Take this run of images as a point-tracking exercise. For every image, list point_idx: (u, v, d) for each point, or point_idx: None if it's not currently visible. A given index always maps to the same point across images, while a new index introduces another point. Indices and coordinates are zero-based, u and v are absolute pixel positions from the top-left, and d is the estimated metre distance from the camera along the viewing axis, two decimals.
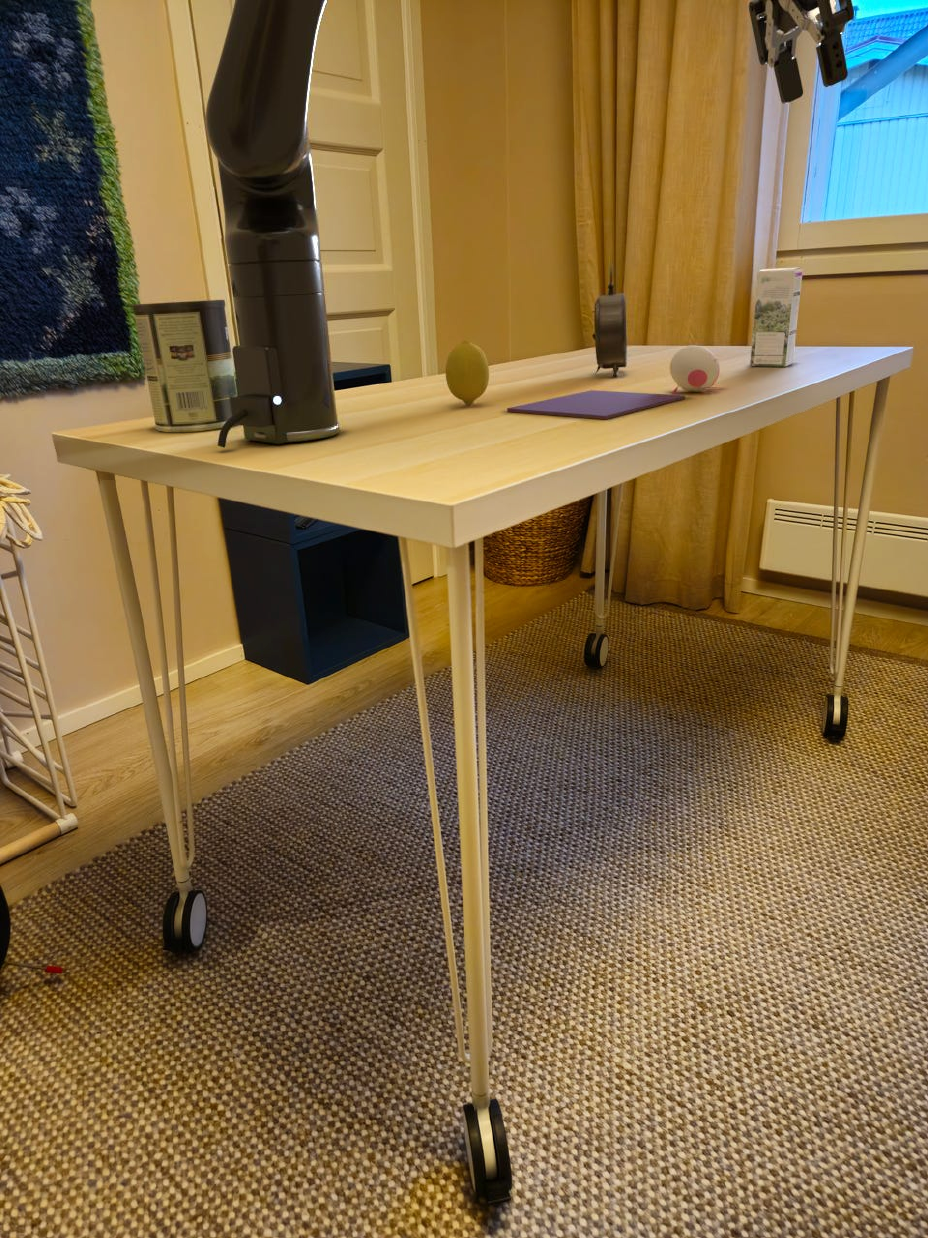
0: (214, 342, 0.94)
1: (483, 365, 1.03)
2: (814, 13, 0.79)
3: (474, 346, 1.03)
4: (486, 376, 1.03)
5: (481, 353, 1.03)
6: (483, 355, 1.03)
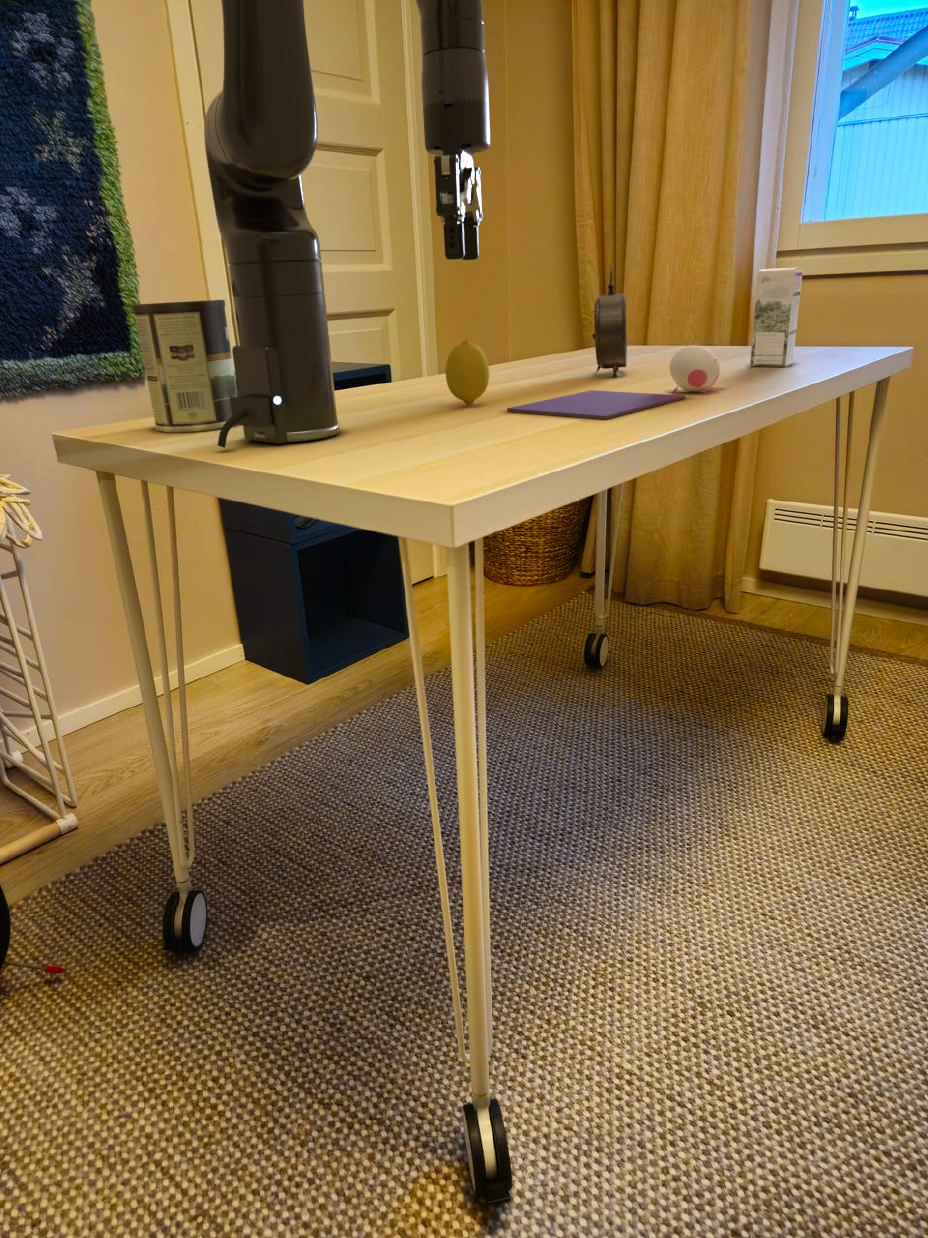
0: (214, 342, 0.94)
1: (483, 365, 1.03)
2: (447, 197, 0.94)
3: (474, 346, 1.03)
4: (486, 376, 1.03)
5: (481, 353, 1.03)
6: (483, 355, 1.03)
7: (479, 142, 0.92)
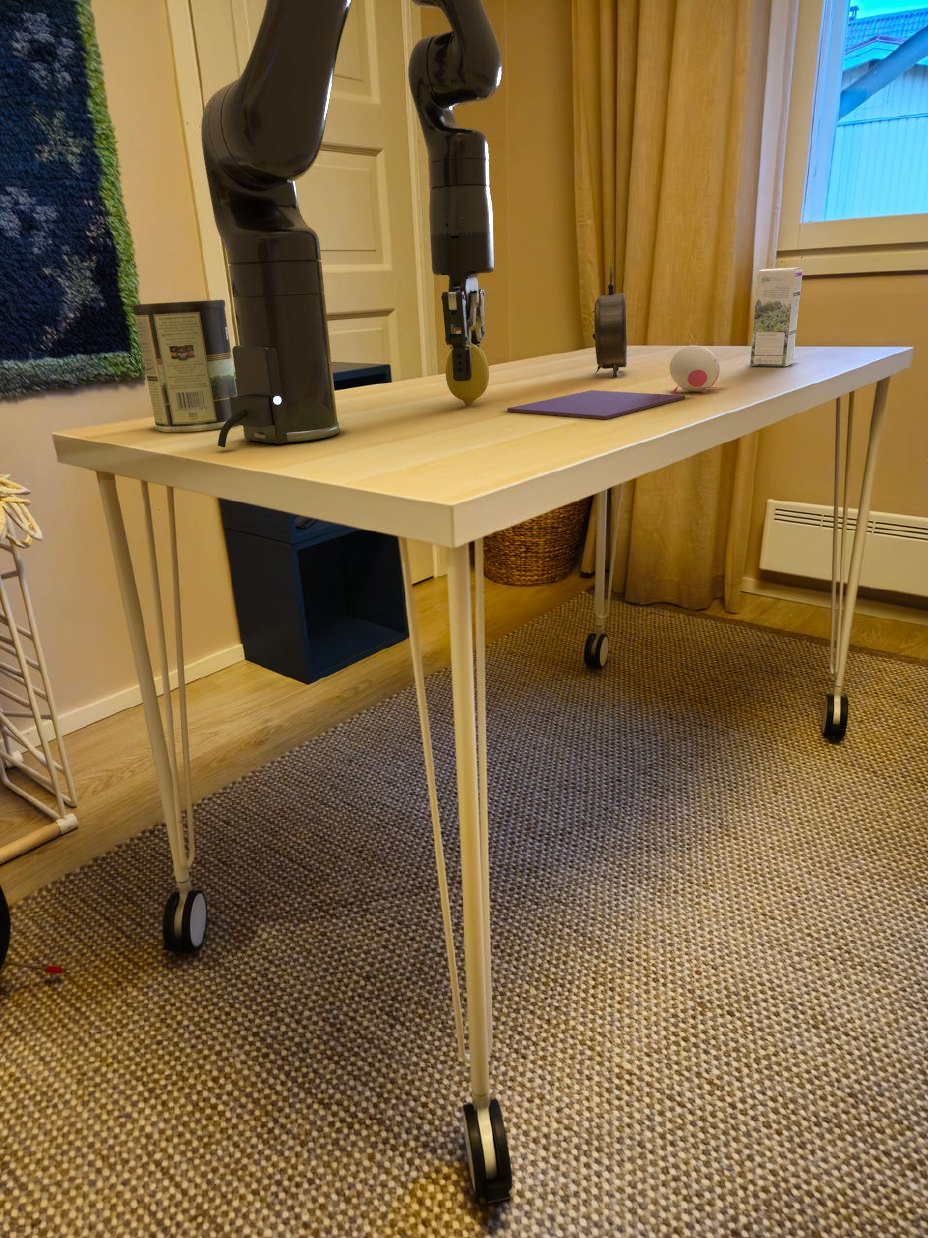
0: (214, 342, 0.94)
1: (483, 365, 1.03)
2: (454, 325, 0.99)
3: (474, 346, 1.03)
4: (486, 376, 1.03)
5: (481, 353, 1.03)
6: (483, 355, 1.03)
7: (483, 269, 0.97)
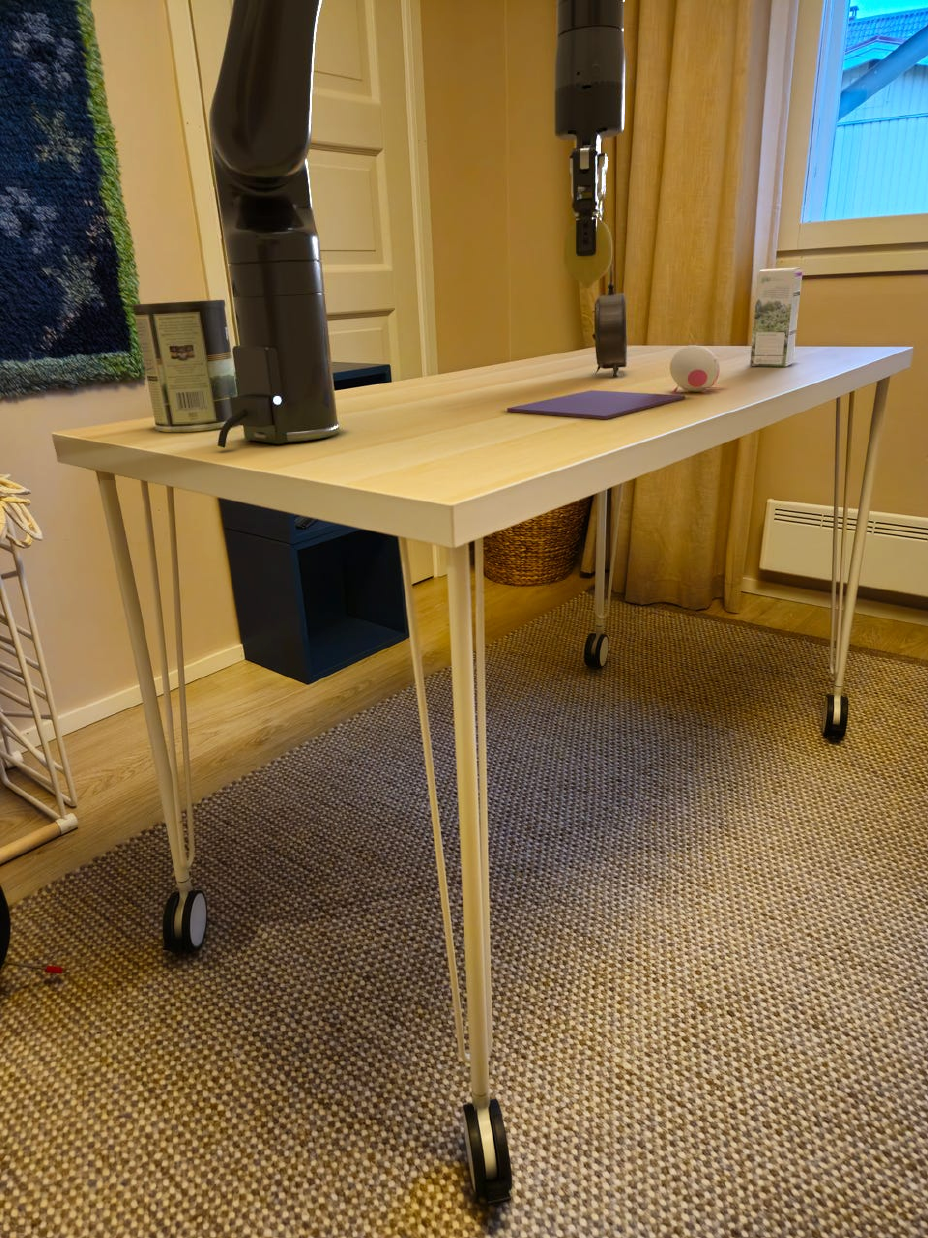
0: (214, 342, 0.94)
1: (608, 239, 0.93)
2: (580, 191, 0.90)
3: (598, 219, 0.93)
4: (610, 253, 0.94)
5: (606, 226, 0.93)
6: (607, 229, 0.94)
7: (615, 125, 0.88)
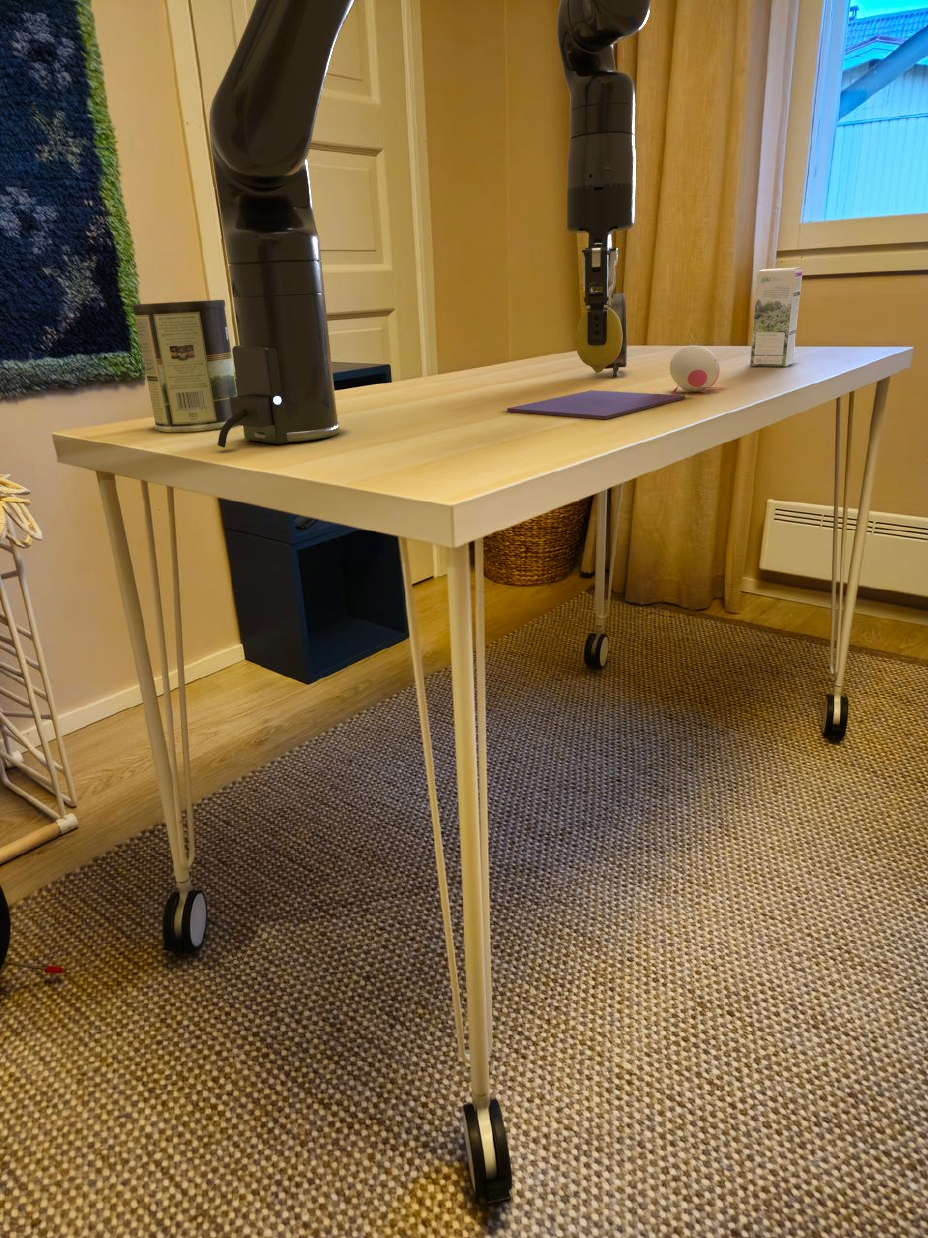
0: (214, 342, 0.94)
1: (618, 328, 0.96)
2: (592, 284, 0.93)
3: (609, 308, 0.96)
4: (620, 341, 0.97)
5: (616, 316, 0.96)
6: (618, 318, 0.97)
7: (626, 224, 0.91)
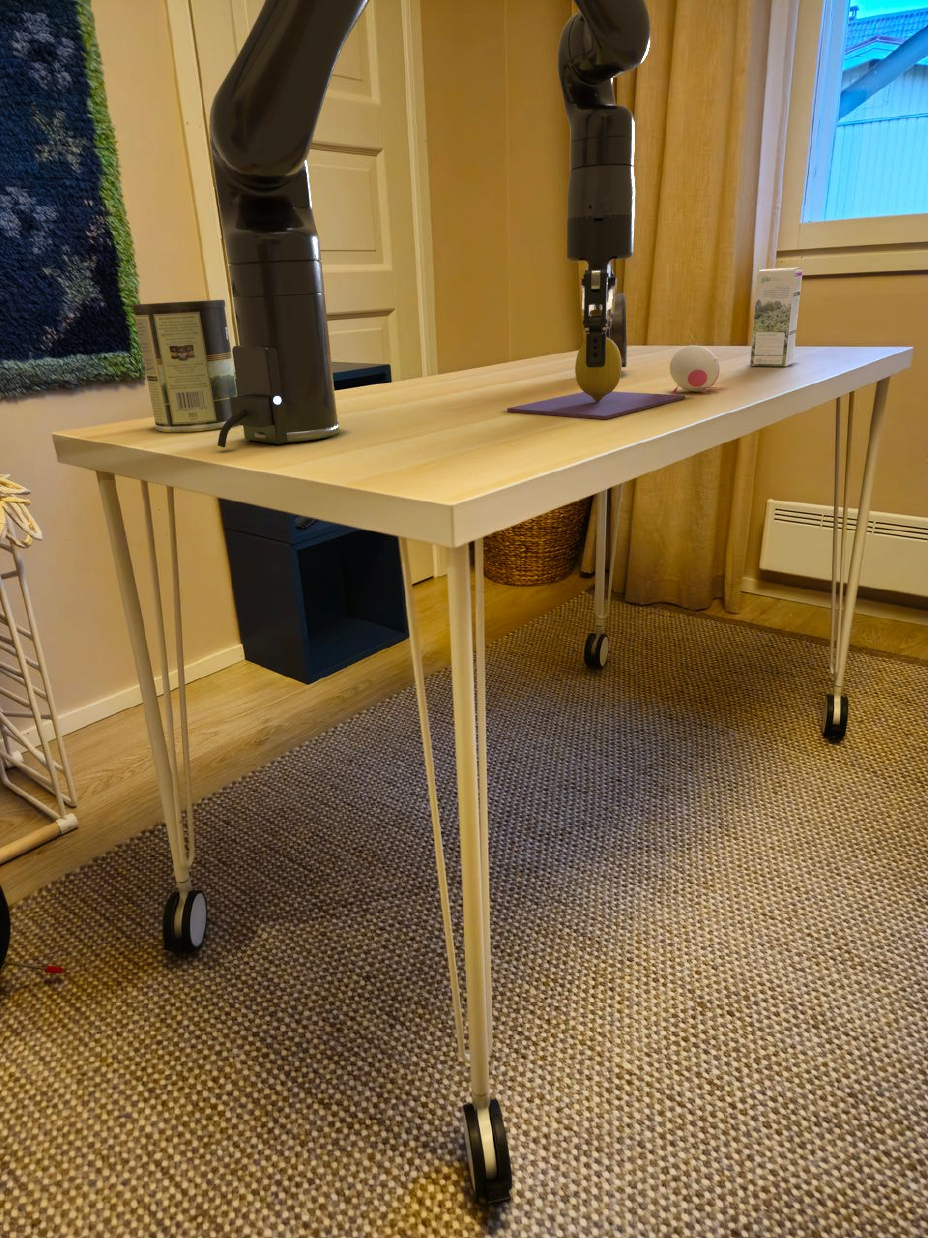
0: (214, 342, 0.94)
1: (617, 358, 0.98)
2: (591, 308, 0.94)
3: (608, 339, 0.98)
4: (619, 371, 0.98)
5: (615, 346, 0.98)
6: (617, 348, 0.98)
7: (625, 254, 0.92)
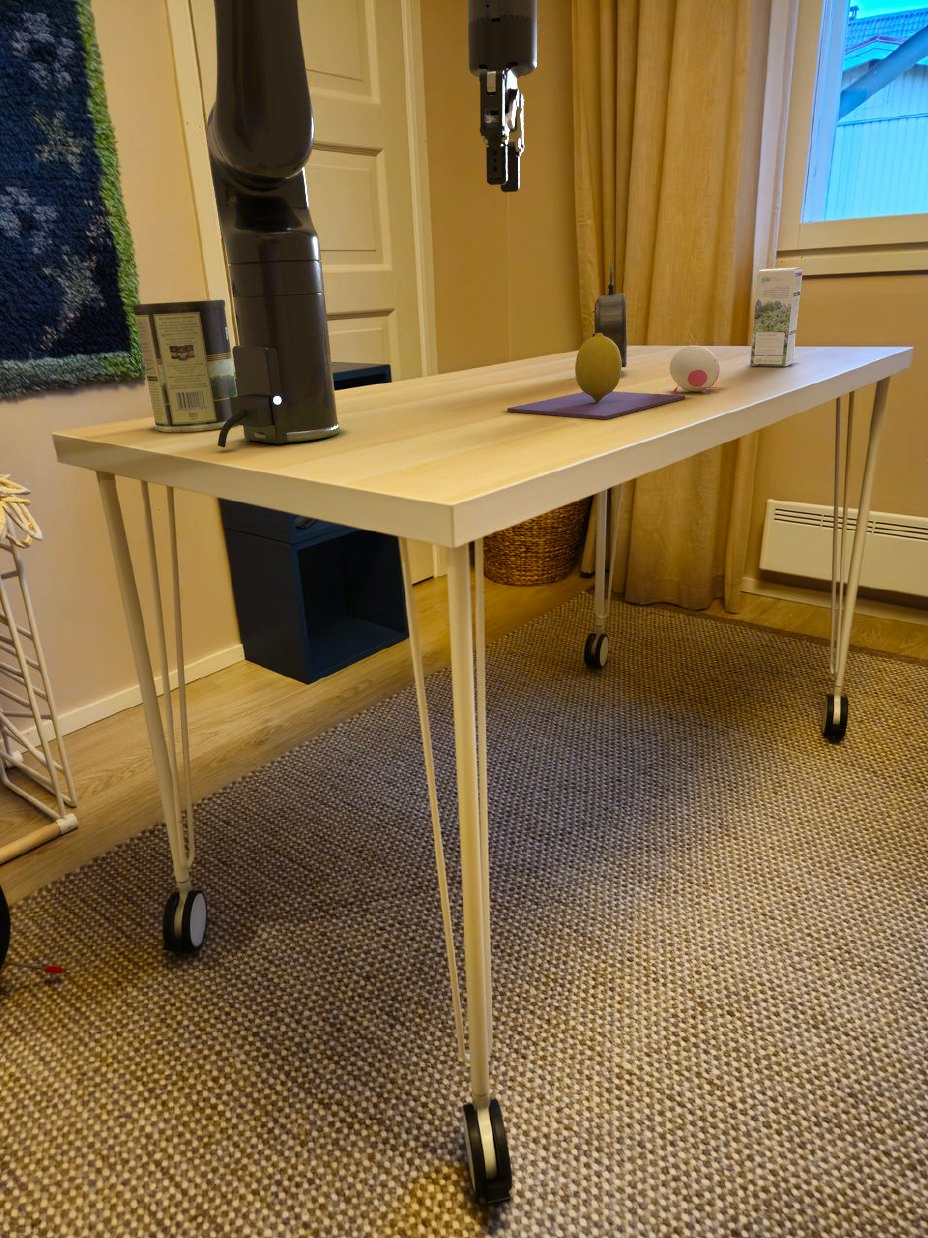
0: (214, 342, 0.94)
1: (617, 358, 0.98)
2: (491, 119, 0.90)
3: (608, 339, 0.98)
4: (619, 371, 0.98)
5: (615, 346, 0.98)
6: (617, 348, 0.98)
7: (526, 60, 0.89)
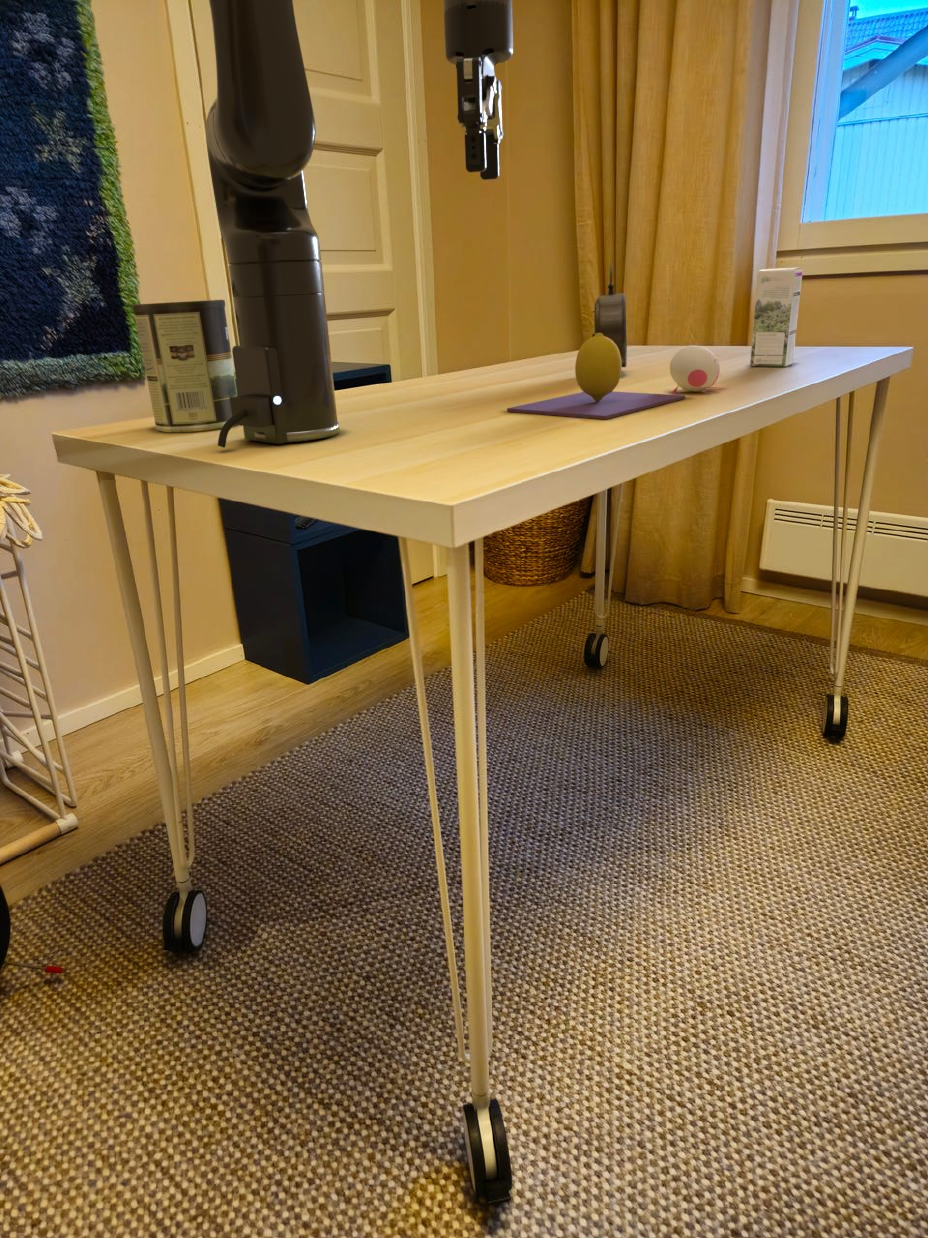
0: (214, 342, 0.94)
1: (617, 358, 0.98)
2: (468, 106, 0.90)
3: (608, 339, 0.98)
4: (619, 371, 0.98)
5: (615, 346, 0.98)
6: (617, 348, 0.98)
7: (502, 47, 0.89)
